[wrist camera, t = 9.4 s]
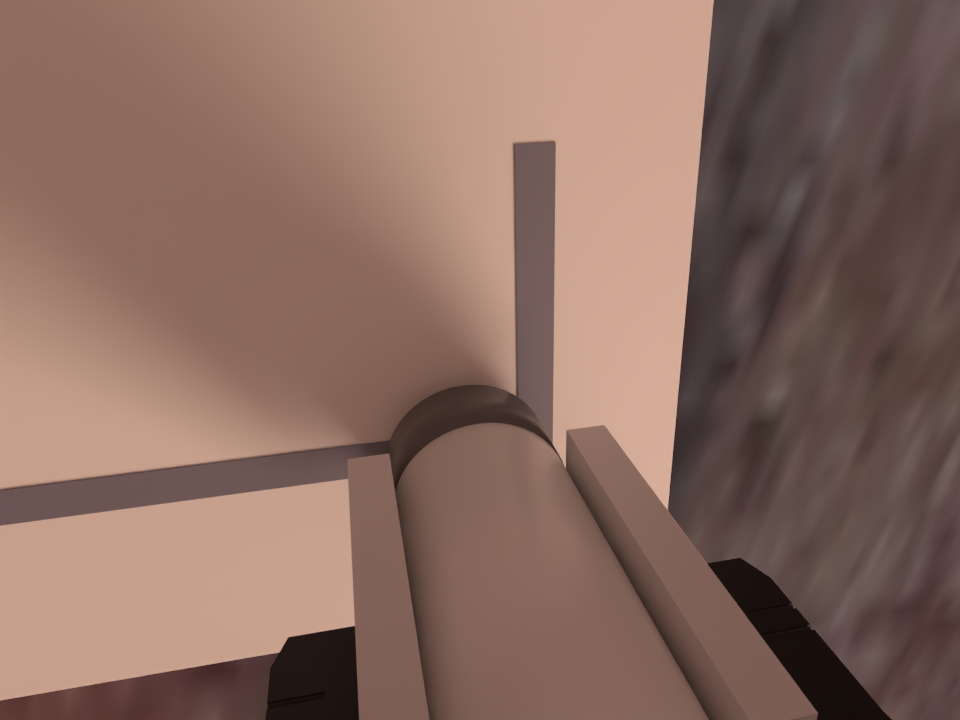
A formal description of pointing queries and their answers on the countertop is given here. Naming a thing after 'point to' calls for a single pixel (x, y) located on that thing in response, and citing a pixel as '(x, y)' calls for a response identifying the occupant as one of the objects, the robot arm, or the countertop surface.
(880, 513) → the countertop surface
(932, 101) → the countertop surface
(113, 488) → the paper
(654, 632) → the marker
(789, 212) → the countertop surface
